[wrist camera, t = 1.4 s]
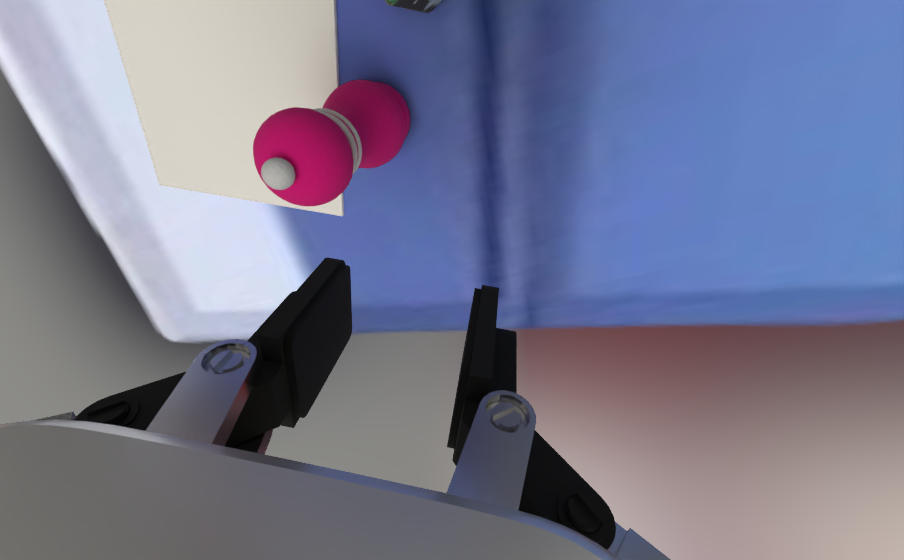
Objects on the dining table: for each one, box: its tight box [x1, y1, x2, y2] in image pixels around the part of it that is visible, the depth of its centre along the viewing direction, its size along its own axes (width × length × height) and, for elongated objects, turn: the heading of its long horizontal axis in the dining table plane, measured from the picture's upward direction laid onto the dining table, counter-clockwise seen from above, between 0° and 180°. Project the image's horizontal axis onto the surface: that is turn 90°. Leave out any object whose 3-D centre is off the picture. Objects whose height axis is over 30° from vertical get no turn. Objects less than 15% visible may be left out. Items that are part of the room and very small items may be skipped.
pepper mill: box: [253, 80, 410, 207], centre depth 29 cm, size 7×7×20 cm
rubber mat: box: [104, 0, 344, 216], centre depth 39 cm, size 22×22×1 cm
